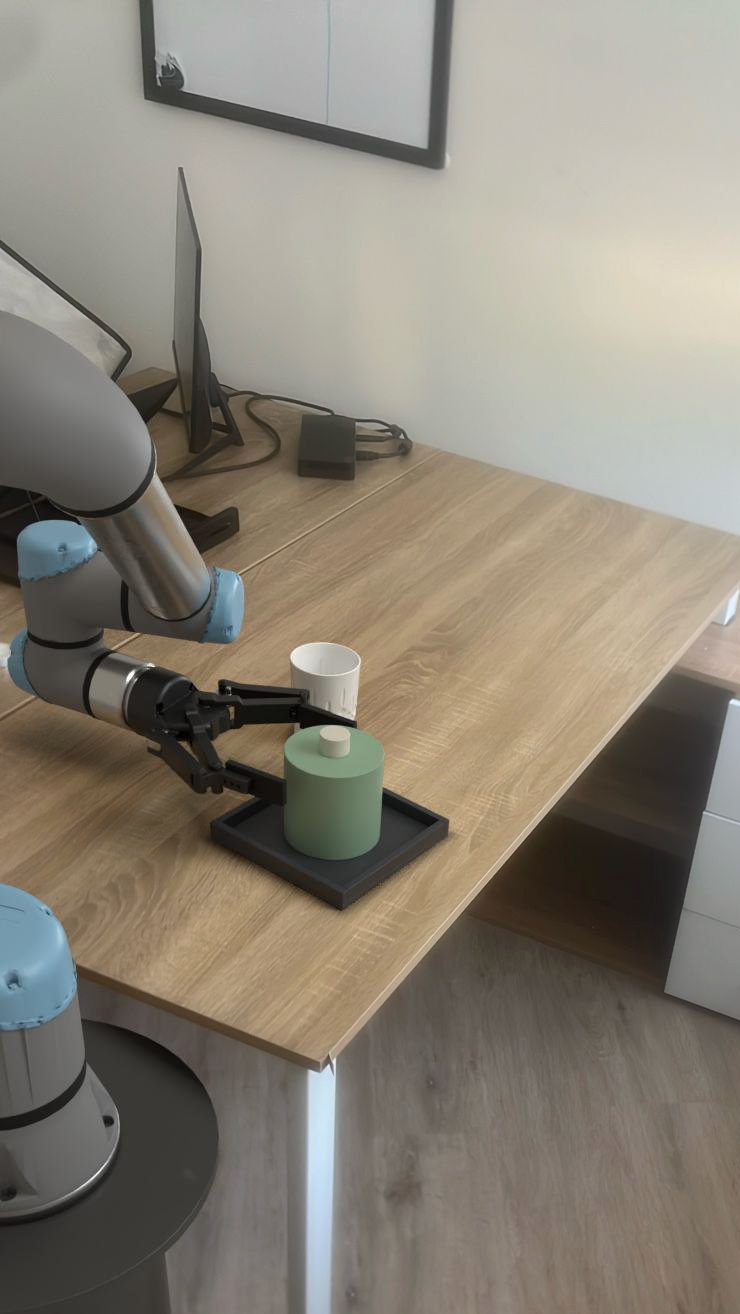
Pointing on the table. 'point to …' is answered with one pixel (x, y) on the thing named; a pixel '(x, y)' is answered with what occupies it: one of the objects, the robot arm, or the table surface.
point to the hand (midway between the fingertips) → (321, 762)
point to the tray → (335, 881)
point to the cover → (333, 791)
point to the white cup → (327, 677)
